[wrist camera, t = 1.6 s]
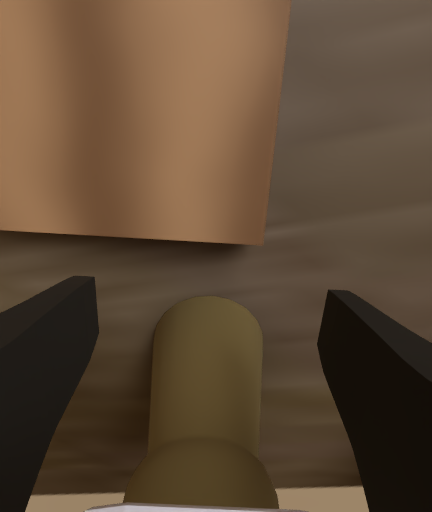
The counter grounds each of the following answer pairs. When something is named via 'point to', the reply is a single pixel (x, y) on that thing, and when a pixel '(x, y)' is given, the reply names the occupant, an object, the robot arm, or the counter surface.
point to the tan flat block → (140, 116)
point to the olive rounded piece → (205, 410)
